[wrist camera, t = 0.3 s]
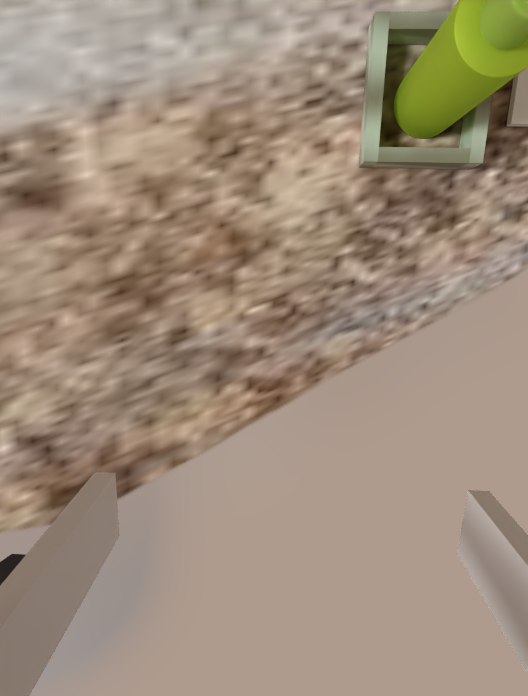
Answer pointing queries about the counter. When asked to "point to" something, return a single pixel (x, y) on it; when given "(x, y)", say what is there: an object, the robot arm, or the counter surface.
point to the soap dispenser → (463, 65)
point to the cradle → (382, 32)
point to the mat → (519, 101)
